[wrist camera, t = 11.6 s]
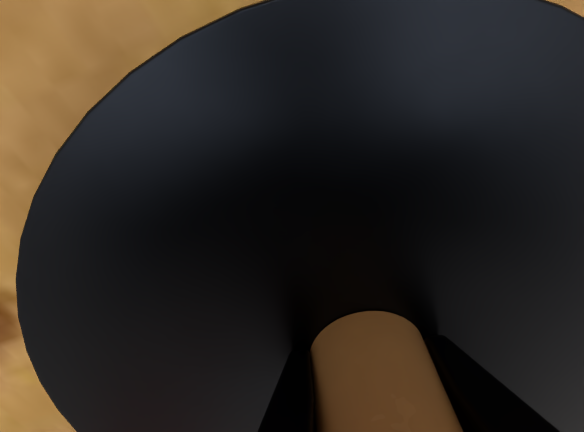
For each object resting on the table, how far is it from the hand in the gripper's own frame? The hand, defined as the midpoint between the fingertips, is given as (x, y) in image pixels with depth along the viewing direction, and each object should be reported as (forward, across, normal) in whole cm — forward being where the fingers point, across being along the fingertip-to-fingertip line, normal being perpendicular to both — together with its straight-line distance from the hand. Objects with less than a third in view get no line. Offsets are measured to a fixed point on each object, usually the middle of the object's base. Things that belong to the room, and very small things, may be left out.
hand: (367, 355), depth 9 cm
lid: (0, 0, 0) cm, 0 cm away
